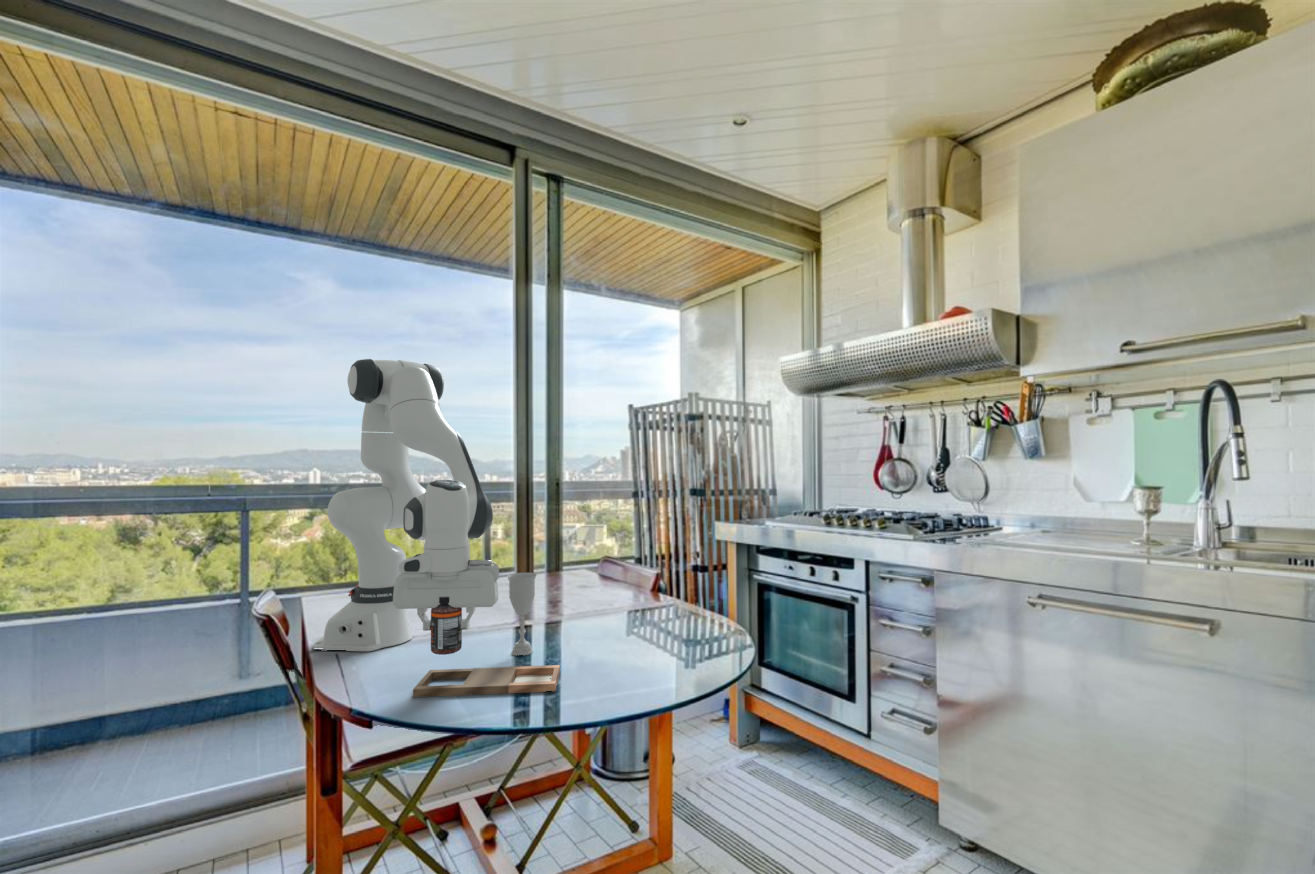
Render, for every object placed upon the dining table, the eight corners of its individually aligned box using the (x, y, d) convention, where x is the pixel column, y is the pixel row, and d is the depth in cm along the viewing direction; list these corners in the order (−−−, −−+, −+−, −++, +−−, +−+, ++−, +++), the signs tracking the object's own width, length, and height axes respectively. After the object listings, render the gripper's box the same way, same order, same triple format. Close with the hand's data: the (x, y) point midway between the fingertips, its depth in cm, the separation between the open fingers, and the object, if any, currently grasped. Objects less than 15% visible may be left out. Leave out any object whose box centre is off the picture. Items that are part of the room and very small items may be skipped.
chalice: (529, 657, 141) (529, 578, 141) (501, 656, 142) (501, 577, 143) (541, 648, 148) (541, 572, 148) (515, 647, 149) (515, 572, 150)
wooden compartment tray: (412, 697, 118) (412, 689, 118) (429, 677, 129) (429, 670, 129) (555, 691, 120) (555, 683, 120) (559, 672, 131) (559, 665, 131)
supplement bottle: (429, 648, 126) (430, 592, 126) (460, 644, 128) (460, 590, 128) (431, 657, 120) (431, 598, 120) (463, 653, 122) (463, 596, 123)
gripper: (501, 557, 129) (501, 623, 128) (401, 558, 127) (400, 626, 127) (496, 562, 122) (495, 632, 122) (390, 564, 121) (389, 635, 120)
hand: (446, 629), depth 124 cm, fingers closed on supplement bottle, 6 cm apart
